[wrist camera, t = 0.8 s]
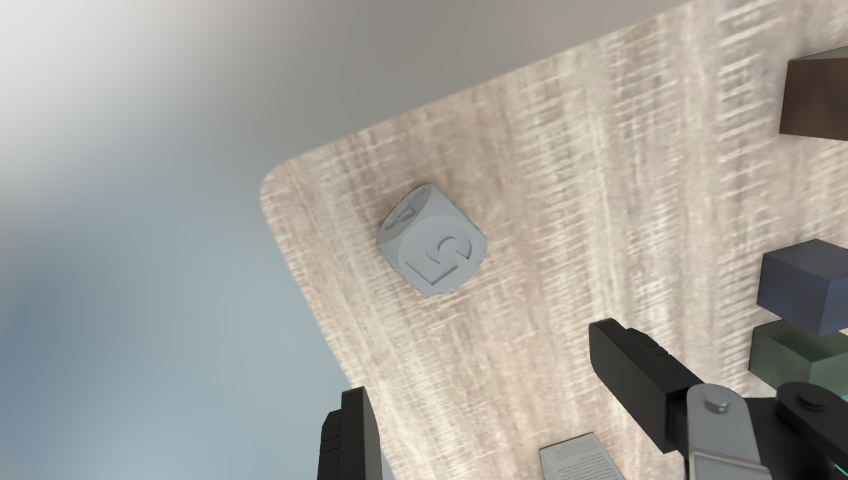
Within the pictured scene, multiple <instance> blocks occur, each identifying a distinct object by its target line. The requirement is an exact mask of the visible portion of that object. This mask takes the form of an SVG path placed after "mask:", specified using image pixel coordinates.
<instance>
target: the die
mask: <svg viewBox="0 0 848 480" xmlns="http://www.w3.org/2000/svg"><path fill="white" fill-rule="evenodd" d="M377 247H378V249H379V251H380V253H381V254H382V256H383V257H384V258H385V260H386V261H387V262H388V264H389V265H390V266H391V267H392V268H393V269H394V270H395V271H396V272H397V273H398V274H399V275H400V276H401V277H402V278H403V279H404V280H405V281H406V282H407V283H409V284H410V285H411V286H412V287H414V288H415V289H416V290H418V291H420V292H421V293H424V294H427V295H437V294H443V293H448V292H450V291H453V290H455V289H456V288H458V287H459V286H461V285H462V284H463V283H465V282H466V281H467V280H468V279H469V278H470V277H471V276H472V275H473V274H474V272H475V271H476V270H477V268H478V267H479V265H480V264H481V262H482V260H483V258H484V256H485V253H486V248H487V237H486V236H485V235H484V234H483V233H482V232H481V230H480V229H479V228H478V227H477V226H476V225H475V224H474V223H473V222H472V221H471V220H470V219H469V218H468V217H467V216H466V215H465V214H464V213H463V212H462V211H461V210H460V209H459V208H458V207H457V206H456V205H455V204H454V203H453V202H452V201H451V200H450V199H449V198H448V197H447V196H446V195H445V194H444V193H443V192H442V191H440V190H439V189H438V188H437V187H436V186H435V185H434V184H426V185H422V186H420V187H418V188H417V189H415V190H414V191H412V192H411V193H410V194H408V195H407V196H406V197H405V198H404V199H403V200H402V201H401V202H400V203H399V204H398V205H397V206H396V207H395V208H394V209H393V211H392V212H391V213H390V214H389V216H388V217H387V218H386V220H385V221H384V223H383V224H382V226H381V228H380V230H379V232H378V235H377Z"/></svg>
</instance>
